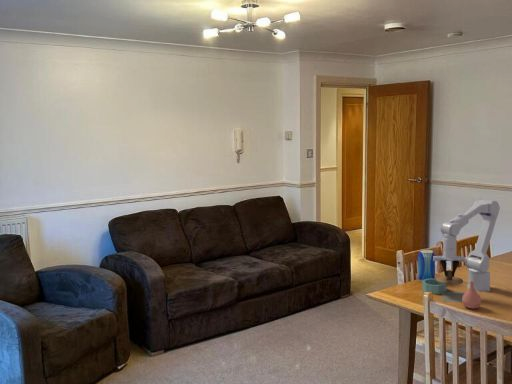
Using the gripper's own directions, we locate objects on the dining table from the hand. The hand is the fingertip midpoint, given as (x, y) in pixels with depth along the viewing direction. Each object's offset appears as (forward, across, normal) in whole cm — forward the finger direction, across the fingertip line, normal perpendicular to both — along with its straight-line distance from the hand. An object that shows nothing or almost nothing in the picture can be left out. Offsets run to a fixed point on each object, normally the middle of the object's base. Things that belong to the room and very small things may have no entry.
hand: (449, 276), depth 236 cm
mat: (+9, +4, -3) cm, 11 cm away
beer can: (+10, -9, +20) cm, 24 cm away
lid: (+2, 0, 0) cm, 2 cm away
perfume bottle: (+10, +8, -16) cm, 20 cm away
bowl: (+9, -6, +5) cm, 12 cm away
